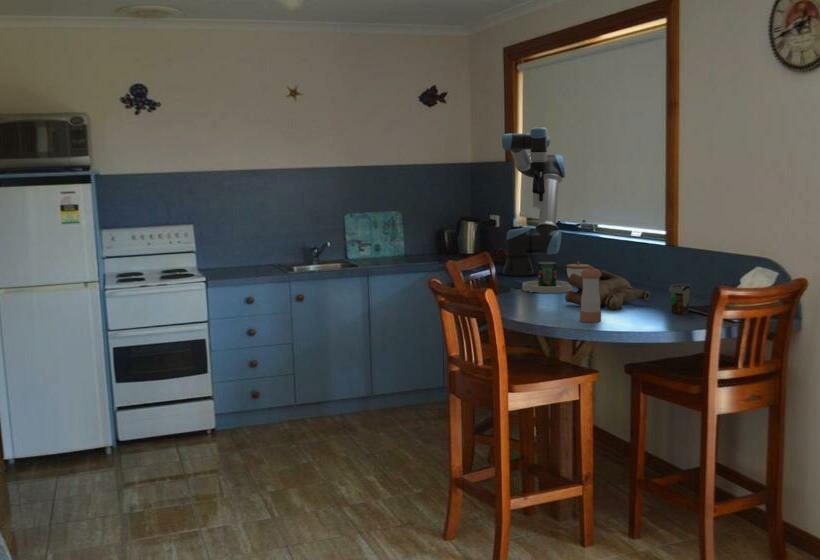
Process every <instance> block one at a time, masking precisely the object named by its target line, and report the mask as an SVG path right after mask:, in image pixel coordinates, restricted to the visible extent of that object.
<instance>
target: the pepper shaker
mask: <svg viewBox="0 0 820 560" xmlns="http://www.w3.org/2000/svg"><path fill="white" fill-rule="evenodd" d="M600 271H601V270H600V269H598V268H595V267H594V266H592V265H590V267H589V268H587V269H584V270H582V272H581V276H582V277H583V292H582V298H581V305H580V310H579V321H580V322H582V323H583V322H584V323H599V322H601V321H602V311H601V306H600V295H599V281H600V279H599V278H600V277H601V272H600Z"/></svg>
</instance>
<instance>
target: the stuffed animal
mask: <svg viewBox="0 0 820 560" xmlns="http://www.w3.org/2000/svg"><path fill="white" fill-rule="evenodd" d="M600 272H601V277H600V278H599V295H600V307H604V306H605V307H607V308H608V309H610V310H611V309H612V310H622V309H623V307H622V306H623V304H625V303H632V302H635V301H637V300H644V301H645V302H646V301H648V300H649V299H650V295H651V293H650V291H649V290H642V289H638V288H634V287H633V286H632V285H631V284H630V282H629V281H628V280H627V279H625V278H623V277H621V276H619V275H617V274H614V273H613V272H612V273H611V272H610V271H606V270H604V269H601V270H600ZM568 282H569V284H570V285H572V287H575V288H577V290H576V291H573V290H572V291H568V292H565V297H564V298H565V302H566V303H572V304H574V305H579V306H581V298H582V292H583V277H582V276H579V275H576V274H571V276H570V278H569V277H568Z"/></svg>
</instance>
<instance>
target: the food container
mask: <svg viewBox="0 0 820 560" xmlns="http://www.w3.org/2000/svg"><path fill="white" fill-rule="evenodd" d="M690 291H691V284H690V283H674V284H670V286H669V289H668V292H670V302H671V303H670V304H671V305H670V306H671V307H670V308H671V313H672V314H675V315H679V316H680V315H681V316H684V315H685V314H686V313H688V312H690V293H691V292H690Z"/></svg>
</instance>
